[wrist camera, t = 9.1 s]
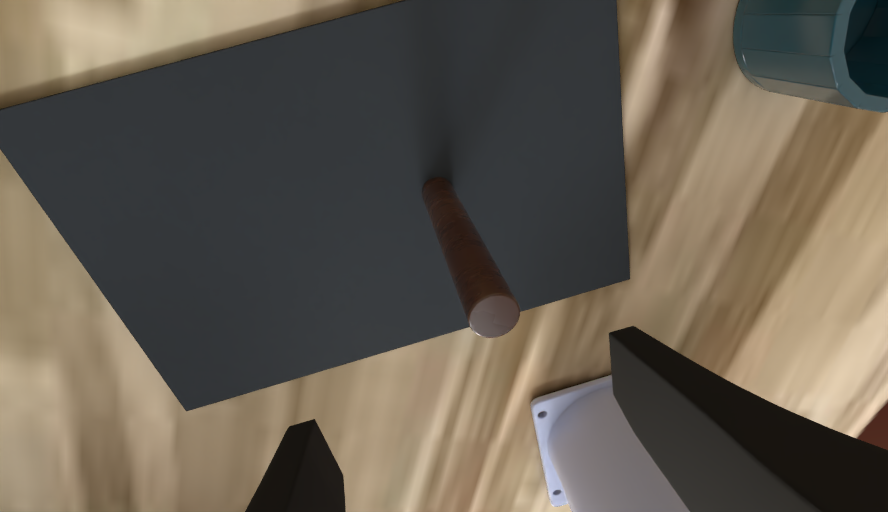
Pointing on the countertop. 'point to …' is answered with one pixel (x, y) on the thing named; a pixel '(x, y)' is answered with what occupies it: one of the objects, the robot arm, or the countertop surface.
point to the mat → (336, 182)
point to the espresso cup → (816, 49)
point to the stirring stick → (470, 263)
